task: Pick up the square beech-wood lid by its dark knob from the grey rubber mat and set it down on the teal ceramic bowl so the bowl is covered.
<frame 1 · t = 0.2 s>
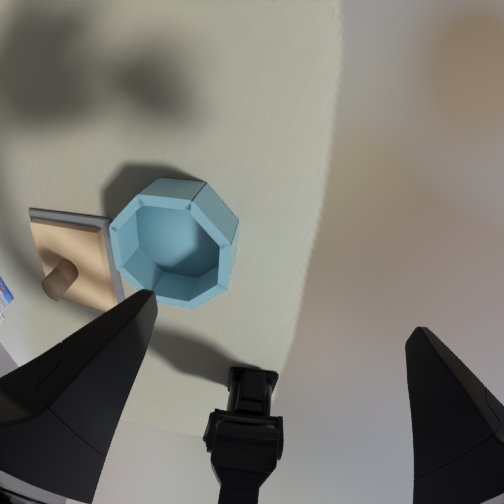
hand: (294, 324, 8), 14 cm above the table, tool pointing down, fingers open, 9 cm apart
bowl: (181, 233, 24), on the table
lid: (74, 264, 27), resting on mat
medicine box: (0, 282, 33), on the table
mat: (75, 262, 27), on the table
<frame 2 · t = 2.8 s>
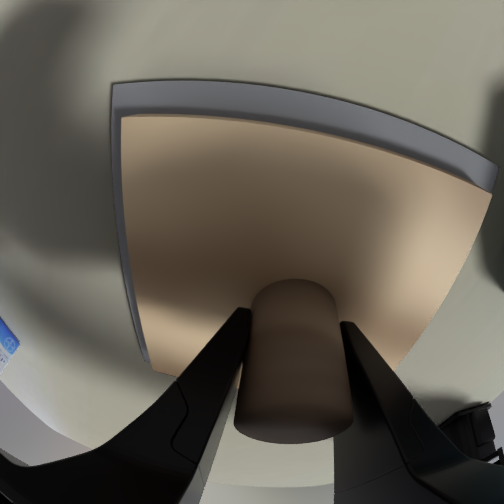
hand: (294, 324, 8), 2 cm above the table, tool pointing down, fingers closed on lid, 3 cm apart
lid: (292, 293, 10), resting on mat, touching gripper
mat: (292, 286, 10), on the table
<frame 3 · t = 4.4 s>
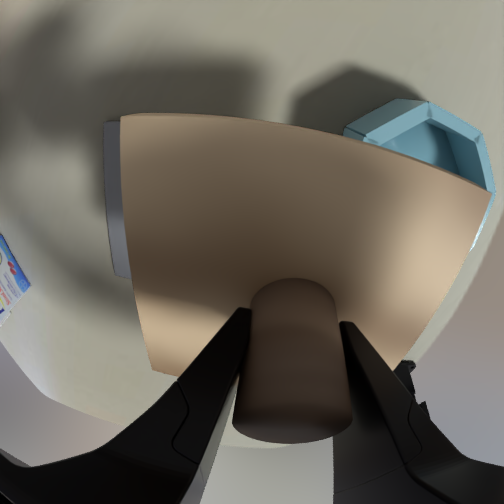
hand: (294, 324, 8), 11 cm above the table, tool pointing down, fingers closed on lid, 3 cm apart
bowl: (404, 178, 16), on the table
lid: (291, 292, 10), point 9 cm above the table, touching gripper
medicine box: (11, 262, 24), on the table
mat: (186, 217, 19), on the table
when the fingers open (7 cm above the table, at t = 5.7 s): lid drops 1 cm, resting on bowl.
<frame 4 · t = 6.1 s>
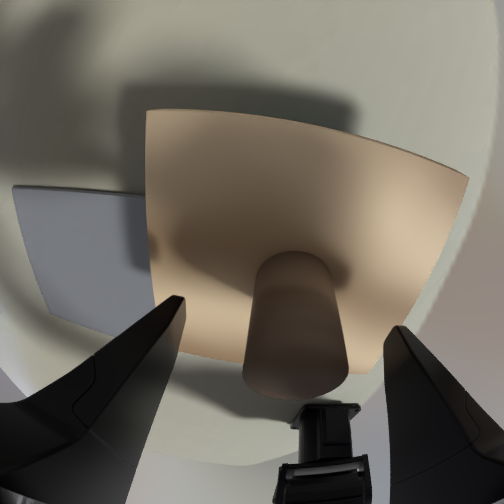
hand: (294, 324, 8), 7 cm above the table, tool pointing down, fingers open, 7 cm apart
lid: (292, 267, 11), point 4 cm above the table, touching bowl
mat: (83, 271, 18), on the table
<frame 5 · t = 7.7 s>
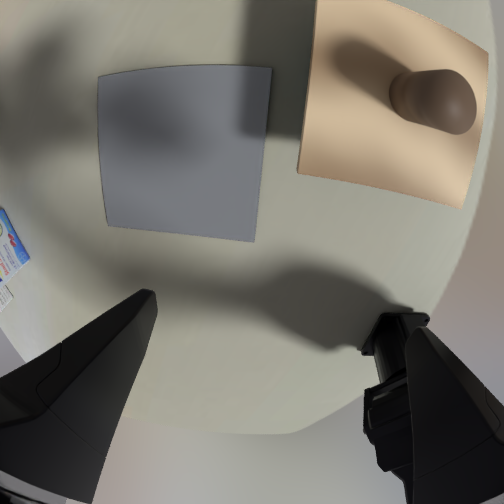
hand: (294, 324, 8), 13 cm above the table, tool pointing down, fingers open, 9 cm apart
lid: (404, 96, 11), point 4 cm above the table, touching bowl
medicine box: (12, 237, 25), on the table
mat: (173, 152, 18), on the table
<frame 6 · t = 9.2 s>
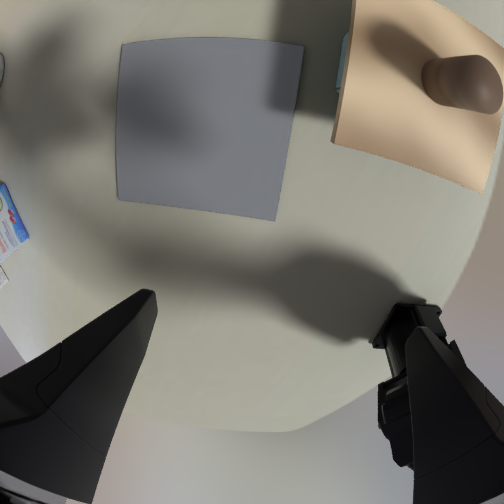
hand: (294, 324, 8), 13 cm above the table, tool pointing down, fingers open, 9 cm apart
lid: (432, 82, 10), point 4 cm above the table, touching bowl
medicine box: (12, 214, 23), on the table
mat: (196, 123, 17), on the table
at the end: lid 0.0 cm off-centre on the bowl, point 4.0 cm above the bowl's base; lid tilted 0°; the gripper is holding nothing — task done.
